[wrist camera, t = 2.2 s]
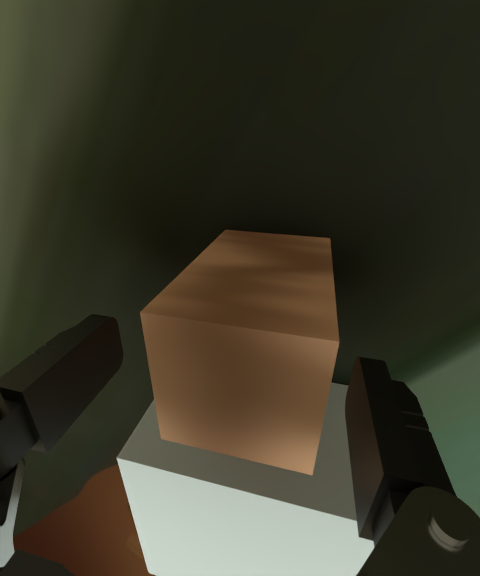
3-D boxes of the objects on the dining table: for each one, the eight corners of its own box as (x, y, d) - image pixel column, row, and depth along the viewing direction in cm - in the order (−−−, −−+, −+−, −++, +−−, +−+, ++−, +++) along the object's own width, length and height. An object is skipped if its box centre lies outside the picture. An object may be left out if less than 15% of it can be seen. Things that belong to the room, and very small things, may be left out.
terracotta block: (330, 238, 14) (339, 341, 7) (316, 328, 16) (312, 475, 9) (225, 229, 15) (139, 312, 8) (226, 315, 17) (160, 438, 10)
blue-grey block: (362, 387, 17) (386, 528, 11) (332, 498, 22) (337, 637, 16) (181, 356, 19) (116, 457, 13) (192, 463, 24) (148, 572, 18)
